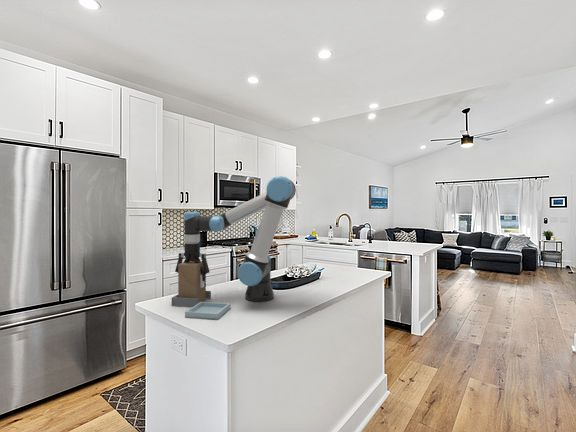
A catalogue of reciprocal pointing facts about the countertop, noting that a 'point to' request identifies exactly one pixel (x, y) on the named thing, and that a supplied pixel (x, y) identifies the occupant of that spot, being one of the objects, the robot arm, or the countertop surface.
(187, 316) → the tray
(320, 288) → the countertop surface
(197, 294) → the wooden block
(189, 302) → the bay
